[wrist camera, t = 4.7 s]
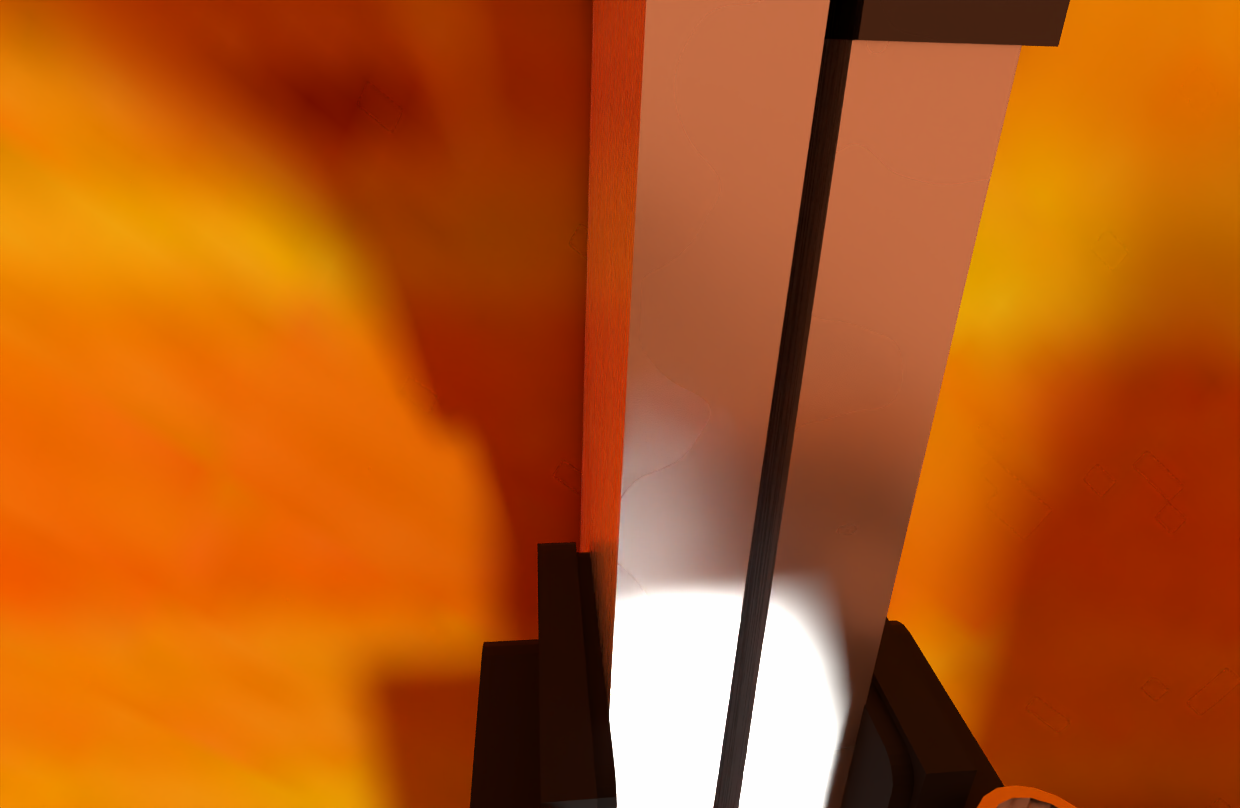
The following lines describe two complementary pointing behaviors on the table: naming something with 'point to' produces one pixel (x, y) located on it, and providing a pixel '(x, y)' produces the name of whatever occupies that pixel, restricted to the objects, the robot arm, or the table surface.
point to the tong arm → (684, 352)
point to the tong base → (862, 369)
